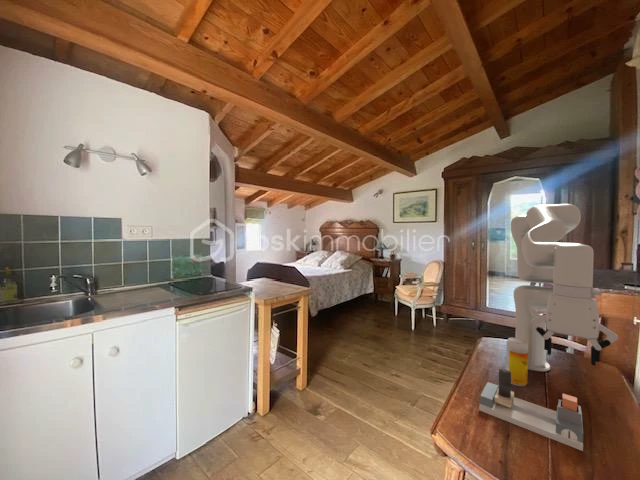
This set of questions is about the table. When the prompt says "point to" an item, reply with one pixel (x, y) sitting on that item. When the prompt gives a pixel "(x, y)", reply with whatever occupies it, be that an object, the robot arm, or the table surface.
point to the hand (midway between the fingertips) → (570, 357)
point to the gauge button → (569, 402)
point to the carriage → (504, 389)
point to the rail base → (537, 417)
